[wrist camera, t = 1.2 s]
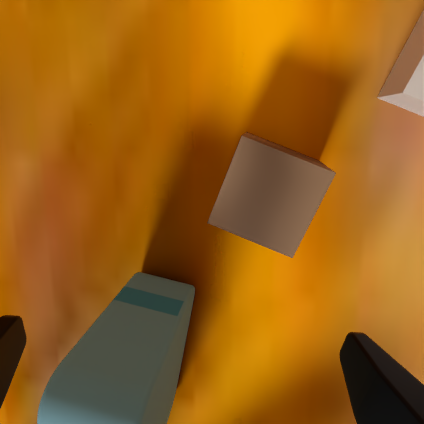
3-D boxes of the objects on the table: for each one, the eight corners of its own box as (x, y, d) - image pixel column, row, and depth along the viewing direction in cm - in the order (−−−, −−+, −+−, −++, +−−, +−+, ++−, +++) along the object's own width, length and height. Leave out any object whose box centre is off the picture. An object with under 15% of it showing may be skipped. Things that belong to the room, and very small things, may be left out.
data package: (141, 263, 24) (34, 389, 13) (198, 277, 24) (139, 420, 13) (125, 384, 28) (31, 564, 17) (175, 398, 28) (112, 593, 16)
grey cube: (319, 160, 20) (336, 173, 16) (286, 228, 22) (292, 258, 17) (246, 132, 21) (241, 135, 16) (219, 200, 22) (207, 222, 17)
